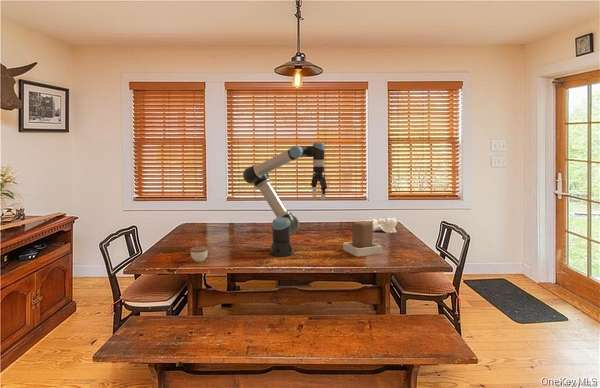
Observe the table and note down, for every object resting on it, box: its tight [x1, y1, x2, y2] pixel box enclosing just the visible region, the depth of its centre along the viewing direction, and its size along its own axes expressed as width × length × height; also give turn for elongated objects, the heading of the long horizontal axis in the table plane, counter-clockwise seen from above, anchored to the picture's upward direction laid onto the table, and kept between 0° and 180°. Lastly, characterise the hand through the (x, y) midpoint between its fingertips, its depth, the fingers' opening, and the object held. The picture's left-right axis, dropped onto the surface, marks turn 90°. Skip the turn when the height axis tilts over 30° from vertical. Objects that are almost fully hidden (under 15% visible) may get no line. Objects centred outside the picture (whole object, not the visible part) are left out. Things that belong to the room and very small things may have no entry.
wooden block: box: [351, 220, 373, 248], centre depth 270 cm, size 10×10×20 cm
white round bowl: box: [189, 245, 209, 263], centre depth 252 cm, size 11×11×9 cm
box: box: [342, 241, 383, 258], centre depth 271 cm, size 19×19×5 cm
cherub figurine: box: [371, 217, 398, 234], centre depth 336 cm, size 13×12×20 cm
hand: (318, 198), depth 268 cm, fingers open, 13 cm apart
